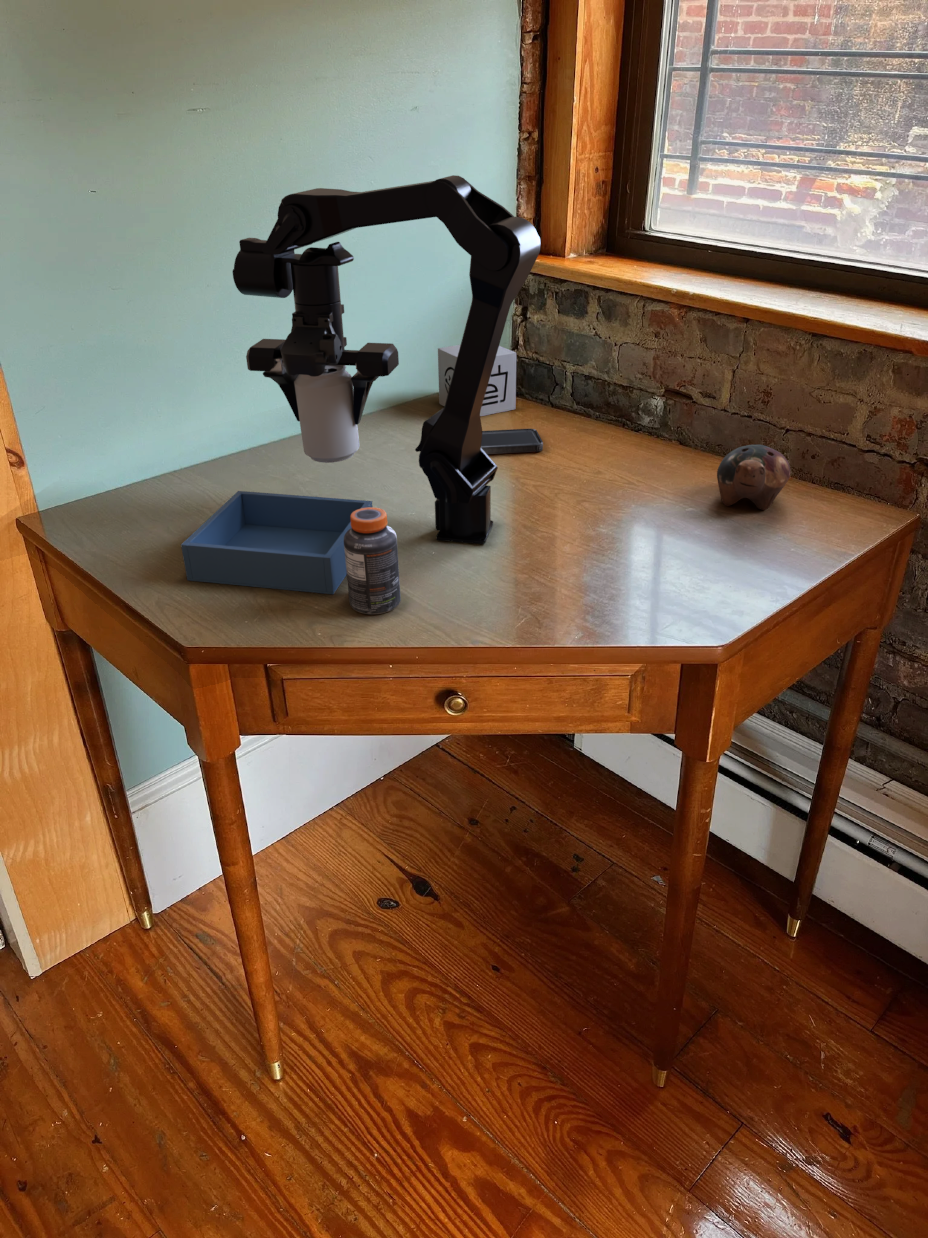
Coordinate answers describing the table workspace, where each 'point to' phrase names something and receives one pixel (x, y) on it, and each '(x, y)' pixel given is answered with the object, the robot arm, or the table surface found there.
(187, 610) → the table surface
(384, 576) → the pill bottle
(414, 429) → the table surface
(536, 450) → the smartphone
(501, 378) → the icon cube
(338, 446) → the can
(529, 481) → the table surface
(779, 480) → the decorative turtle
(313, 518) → the tub
